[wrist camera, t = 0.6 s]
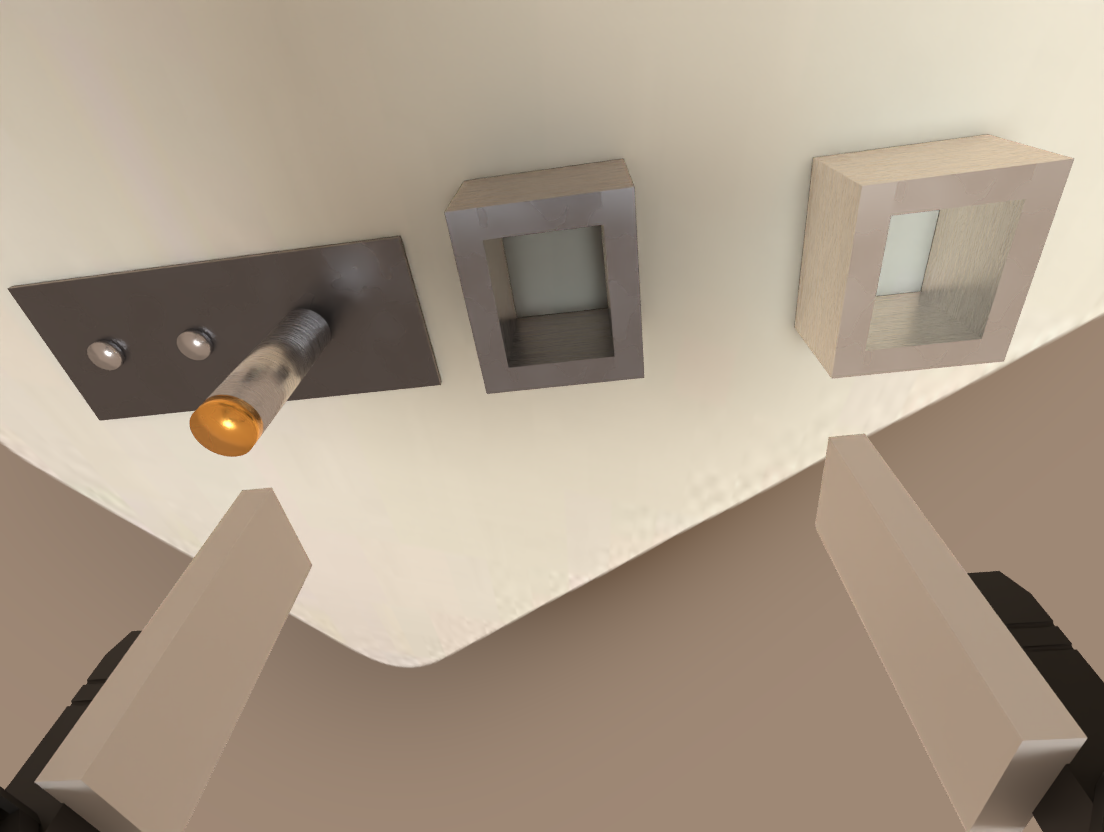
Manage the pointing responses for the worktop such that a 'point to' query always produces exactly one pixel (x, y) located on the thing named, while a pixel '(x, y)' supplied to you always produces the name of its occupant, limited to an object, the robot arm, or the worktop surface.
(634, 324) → the grey hollow block
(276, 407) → the keeper
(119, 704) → the robot arm
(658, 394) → the worktop surface
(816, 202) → the link
